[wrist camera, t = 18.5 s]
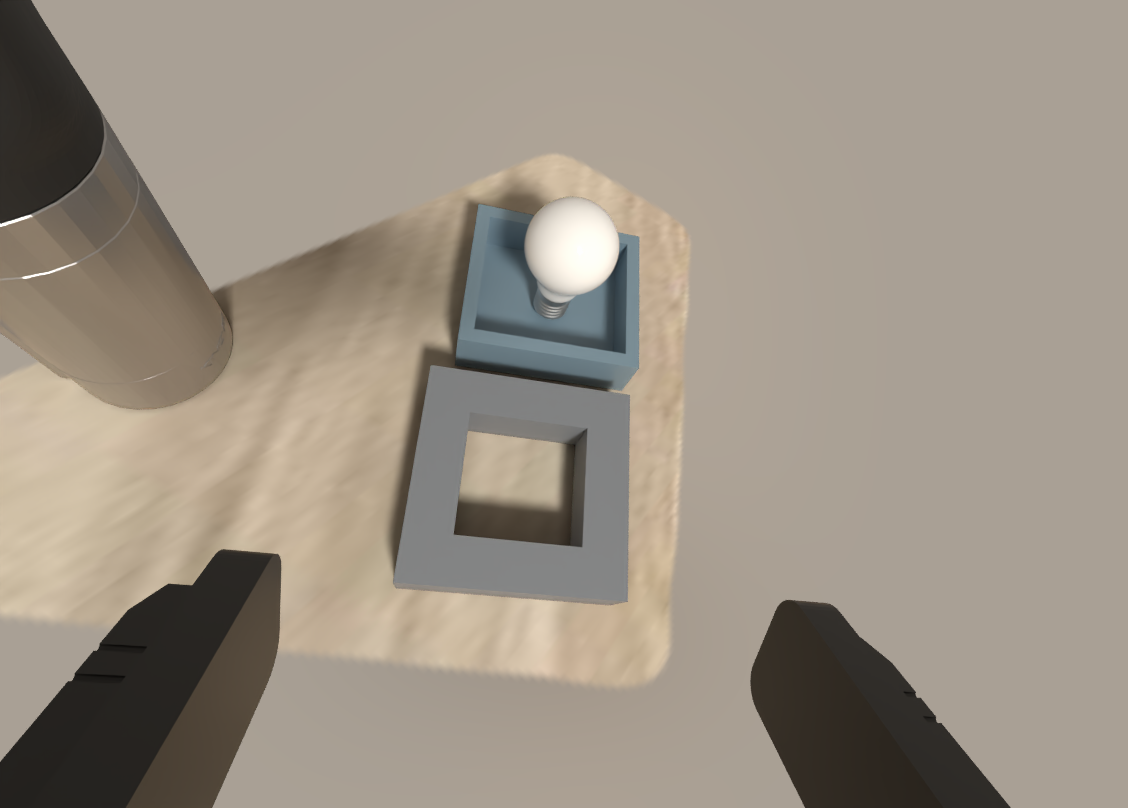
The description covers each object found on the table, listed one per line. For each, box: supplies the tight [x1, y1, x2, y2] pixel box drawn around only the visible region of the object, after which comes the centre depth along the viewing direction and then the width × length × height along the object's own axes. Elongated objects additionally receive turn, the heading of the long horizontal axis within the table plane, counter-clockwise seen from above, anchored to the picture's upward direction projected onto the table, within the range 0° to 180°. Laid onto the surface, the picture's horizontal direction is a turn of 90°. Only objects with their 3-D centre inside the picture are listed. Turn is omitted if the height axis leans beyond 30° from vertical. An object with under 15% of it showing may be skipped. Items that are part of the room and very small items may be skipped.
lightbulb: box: [524, 196, 619, 320], centre depth 40 cm, size 6×6×11 cm
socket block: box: [393, 365, 630, 605], centre depth 38 cm, size 14×14×4 cm
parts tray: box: [455, 204, 639, 391], centre depth 44 cm, size 13×12×4 cm
